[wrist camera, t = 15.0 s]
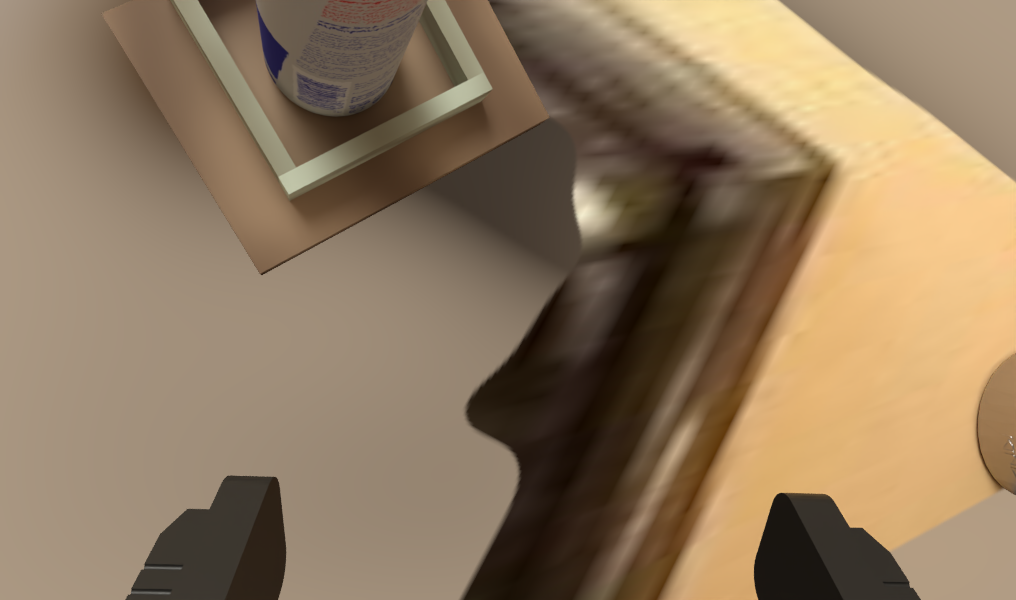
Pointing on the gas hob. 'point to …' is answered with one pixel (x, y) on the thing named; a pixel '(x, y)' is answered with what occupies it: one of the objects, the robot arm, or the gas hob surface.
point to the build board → (322, 116)
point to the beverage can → (336, 49)
